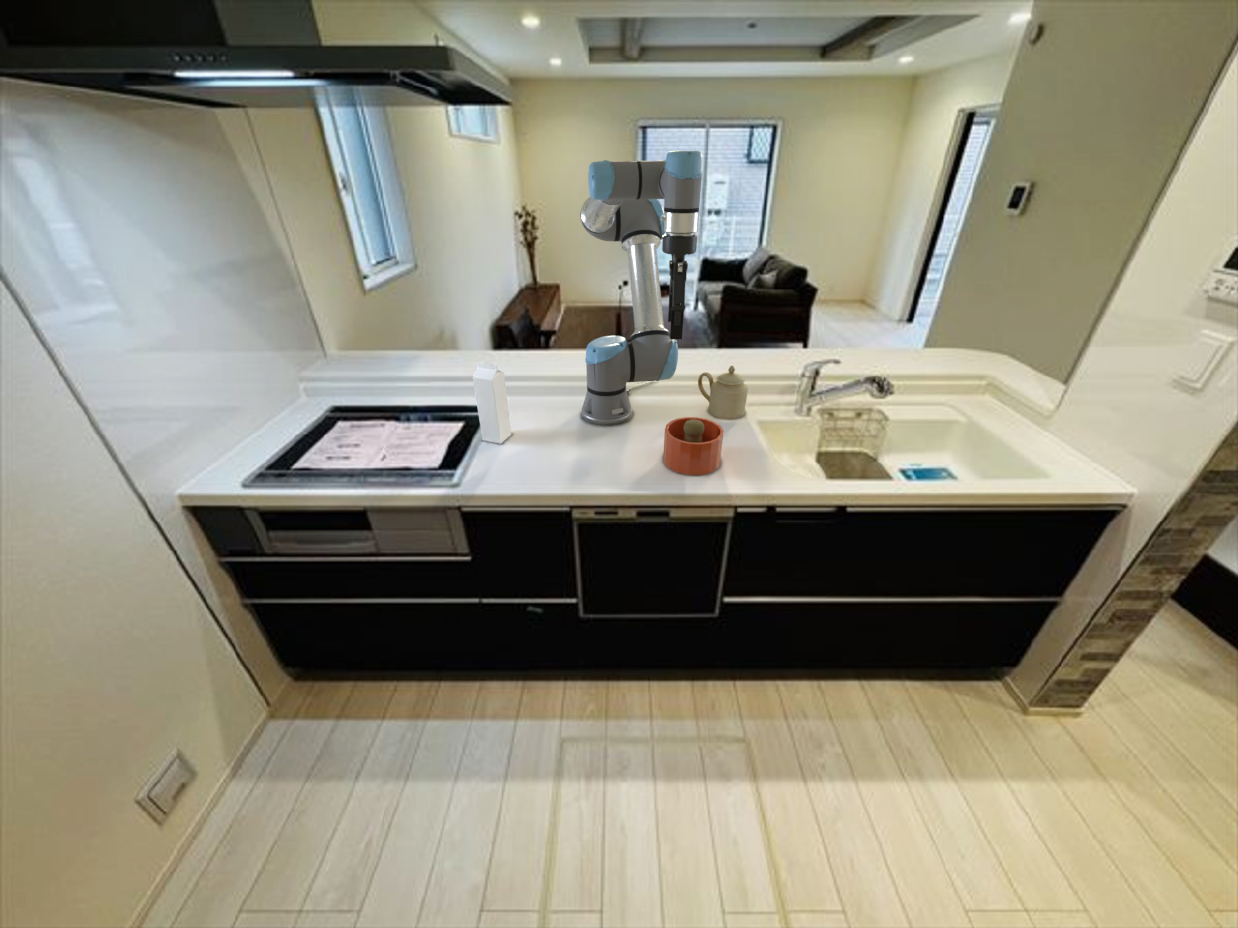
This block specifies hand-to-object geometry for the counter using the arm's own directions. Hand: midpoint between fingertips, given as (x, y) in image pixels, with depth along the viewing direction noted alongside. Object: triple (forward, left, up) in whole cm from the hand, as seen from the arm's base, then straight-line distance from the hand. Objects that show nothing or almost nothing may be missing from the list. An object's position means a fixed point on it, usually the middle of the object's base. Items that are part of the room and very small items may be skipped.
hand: (674, 330), depth 123 cm
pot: (+6, +6, -33) cm, 34 cm away
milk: (-4, -48, -33) cm, 58 cm away
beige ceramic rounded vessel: (-24, +17, -33) cm, 44 cm away
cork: (+7, +6, -32) cm, 34 cm away
